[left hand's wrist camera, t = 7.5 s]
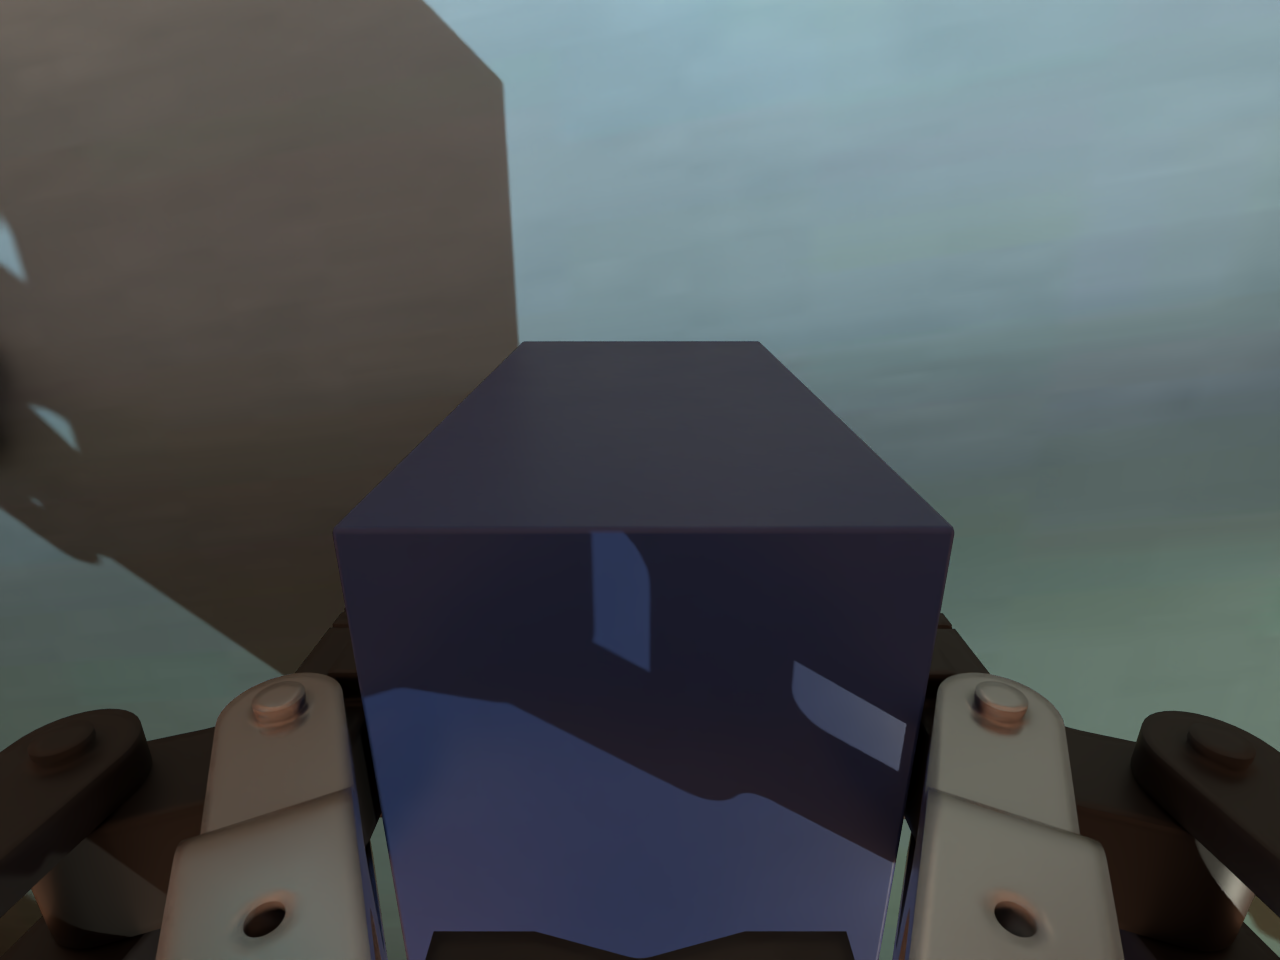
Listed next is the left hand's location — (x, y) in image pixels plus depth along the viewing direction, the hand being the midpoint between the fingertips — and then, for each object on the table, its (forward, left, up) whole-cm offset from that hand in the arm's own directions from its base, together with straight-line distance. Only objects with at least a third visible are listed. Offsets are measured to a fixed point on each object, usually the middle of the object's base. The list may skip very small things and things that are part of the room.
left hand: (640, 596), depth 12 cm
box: (+11, 0, -7) cm, 13 cm away
